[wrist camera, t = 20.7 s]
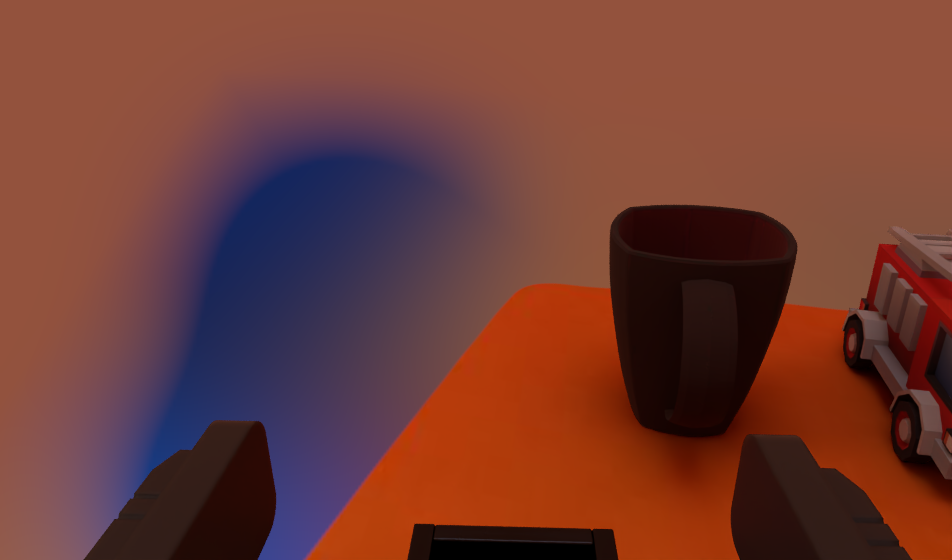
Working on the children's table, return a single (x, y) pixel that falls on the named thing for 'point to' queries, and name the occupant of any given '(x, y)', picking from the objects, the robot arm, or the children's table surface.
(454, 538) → the caddy
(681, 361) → the cup
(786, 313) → the children's table surface
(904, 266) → the toy fire truck
